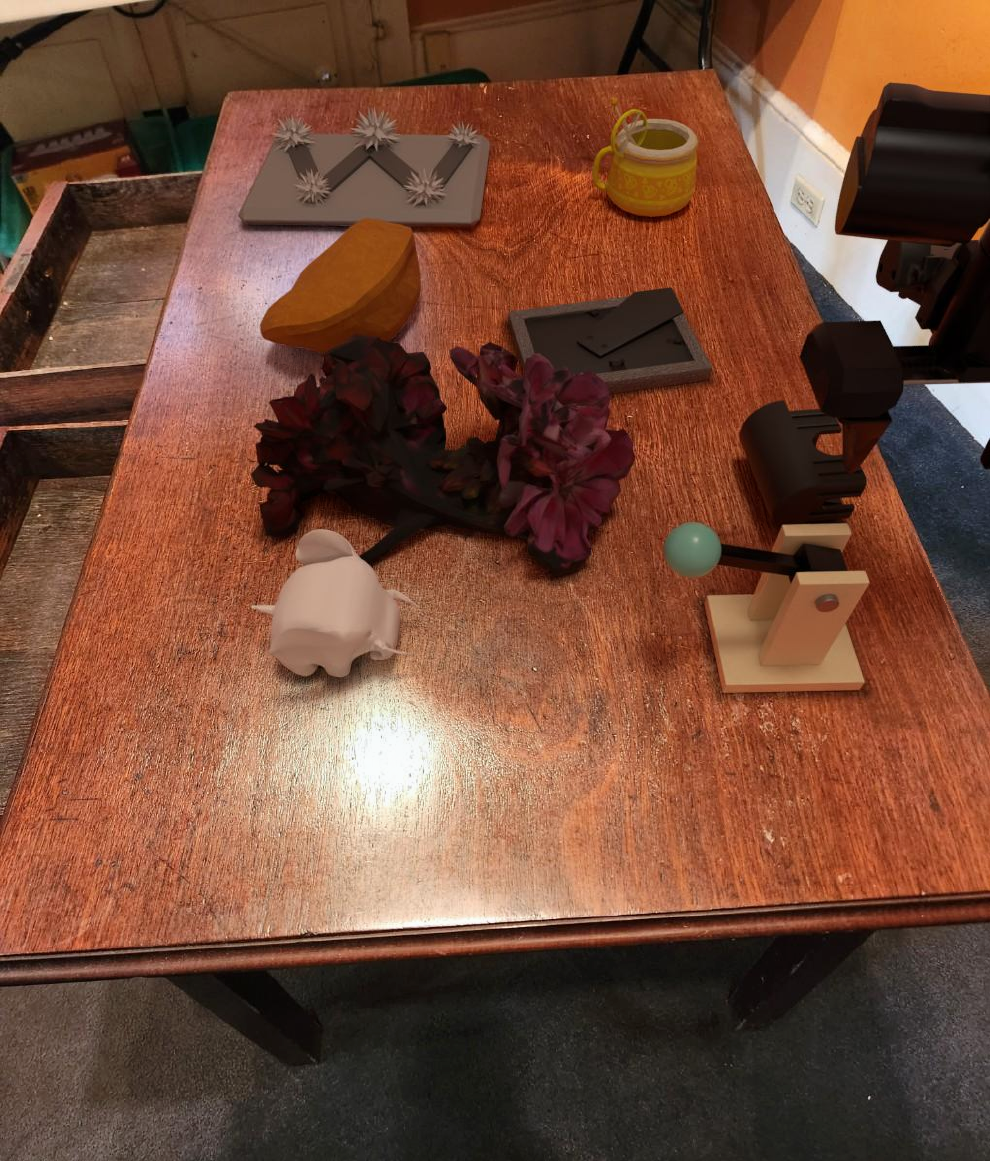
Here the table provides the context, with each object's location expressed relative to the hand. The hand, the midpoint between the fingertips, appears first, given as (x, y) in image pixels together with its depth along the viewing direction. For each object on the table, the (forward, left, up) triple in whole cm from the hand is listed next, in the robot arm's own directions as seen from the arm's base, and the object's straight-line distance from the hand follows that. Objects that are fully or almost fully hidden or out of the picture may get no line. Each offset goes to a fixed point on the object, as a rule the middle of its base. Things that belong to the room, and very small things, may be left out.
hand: (916, 466), depth 53 cm
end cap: (+5, -9, -13) cm, 17 cm away
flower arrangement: (+34, -5, -13) cm, 37 cm away
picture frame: (+22, -27, -13) cm, 37 cm away
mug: (+20, -58, -13) cm, 63 cm away
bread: (+50, -28, -13) cm, 59 cm away
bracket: (+6, +7, -13) cm, 16 cm away
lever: (+11, +8, -4) cm, 14 cm away
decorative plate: (+55, -57, -13) cm, 80 cm away
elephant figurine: (+39, +12, -13) cm, 43 cm away
